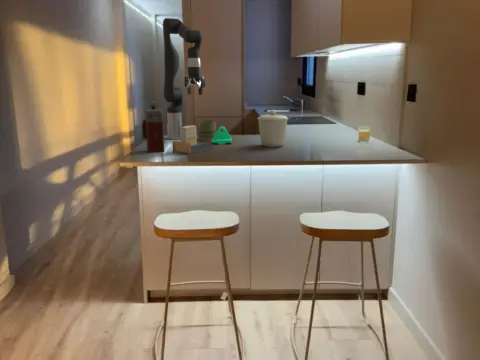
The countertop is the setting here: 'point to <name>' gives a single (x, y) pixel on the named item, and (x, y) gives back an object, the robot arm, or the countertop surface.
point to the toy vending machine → (153, 129)
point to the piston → (206, 130)
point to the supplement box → (189, 134)
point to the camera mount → (222, 136)
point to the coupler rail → (198, 148)
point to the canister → (272, 129)
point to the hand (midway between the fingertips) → (195, 94)
